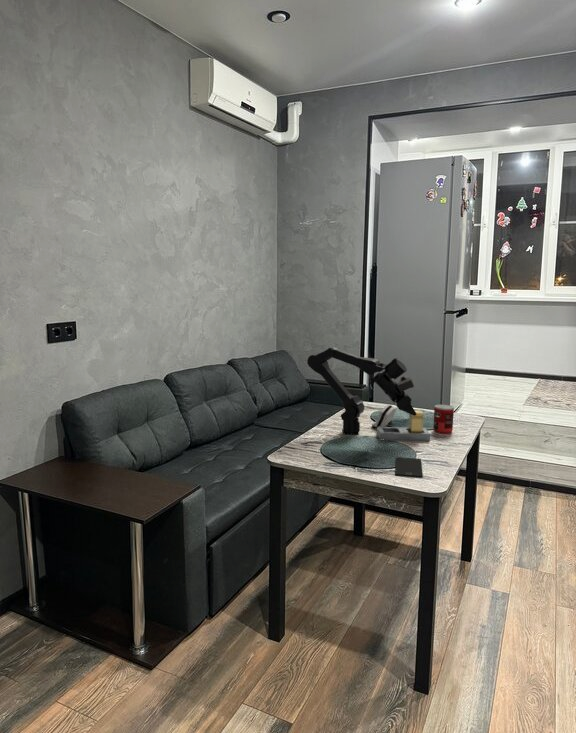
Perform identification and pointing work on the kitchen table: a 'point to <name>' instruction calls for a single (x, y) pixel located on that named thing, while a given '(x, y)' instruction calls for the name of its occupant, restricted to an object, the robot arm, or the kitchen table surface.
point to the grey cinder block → (402, 434)
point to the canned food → (443, 419)
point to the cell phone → (408, 467)
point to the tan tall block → (416, 422)
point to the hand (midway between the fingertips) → (413, 412)
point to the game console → (384, 416)
